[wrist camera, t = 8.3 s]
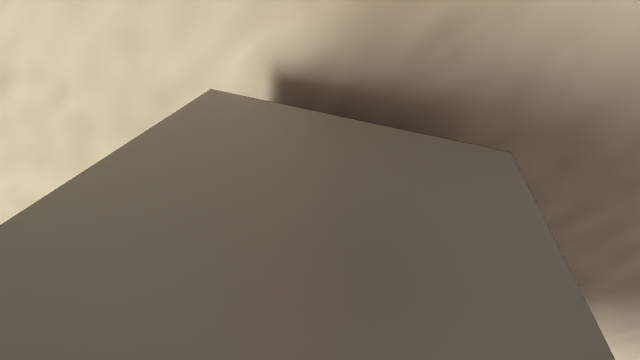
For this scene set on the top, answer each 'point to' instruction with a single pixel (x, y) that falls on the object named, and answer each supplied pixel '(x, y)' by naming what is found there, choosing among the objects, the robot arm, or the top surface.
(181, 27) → the top surface
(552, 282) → the grey upright block
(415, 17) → the top surface
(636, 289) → the top surface
